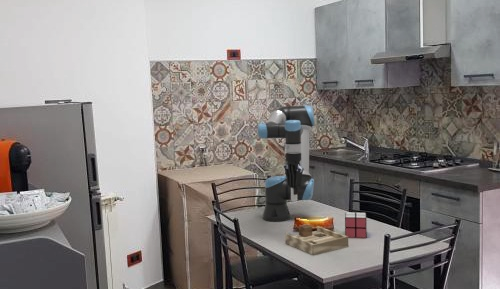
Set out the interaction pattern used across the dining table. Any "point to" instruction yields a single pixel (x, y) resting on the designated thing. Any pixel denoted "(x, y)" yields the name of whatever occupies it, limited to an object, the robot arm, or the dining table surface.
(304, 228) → the block
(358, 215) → the puzzle cube
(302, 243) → the wooden sorting tray
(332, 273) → the dining table surface
